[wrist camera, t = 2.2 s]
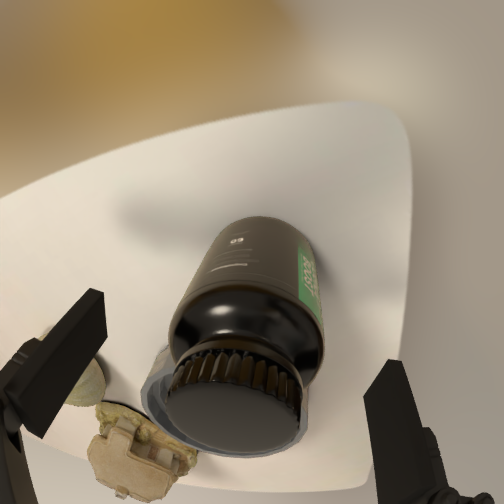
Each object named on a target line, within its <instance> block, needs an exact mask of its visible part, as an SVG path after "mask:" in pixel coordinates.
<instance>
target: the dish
mask: <svg viewBox="0 0 504 504" xmlns="http://www.w3.org/2000/svg"><path fill="white" fill-rule="evenodd" d="M175 368H176V366H175V364H174V362H173V360H172V357H171V354H170V350H169V348H167V349H166V350H164V351H163V352H161V353H160V354H159V355H158V357H157V359H156V360H155V362H154V364H153V366H152V368H151V370H150V372H149V375H148V377H147V379H146V381H145V383H144V385H143V387H142V389H141V401H142V406H143V408H144V410H145V412H146V413H147V415H148V416H149V418H150V420H151V421H152V422H153V423H154V424H155V425H156V426H157V427H159V428H160V429H161V430H162V431H163V432H164V433H165V434H167V435H168V436H170V437H172V438H173V439H175V440H177V441H178V442H180V443H182V444H184V445H186V446H189V447H191V448H194V449H196V450H199V451H202V452H205V453H209V454H214V455H218V456H223V457H234V458H255V457H265V456H269V455H273V454H276V453H279V452H282V451H285V450H287V449H288V448H290V447H292V446H293V445H295V444H296V443H298V442H299V441H300V440H301V438H302V437H303V435H304V434H305V432H306V431H307V429H308V388H306V389H305V390H304V391H303V400H302V403H301V420H300V428H299V430H298V431H297V433H296V436H295V437H294V438H292V439H291V441H290V442H288V443H285V444H284V445H283V446H281V447H277V448H276V449H274V450H268V451H265V452H257V453H237V452H228V451H223V450H218V449H216V448H212V447H208V446H206V445H204V444H201V443H198V442H197V441H195V440H193V439H191V438H189V437H187V436H186V435H185V434H183V433H182V432H180V431H179V429H178V428H176V427H175V426H174V425H173V423H172V421H170V420H169V419H168V414H167V413H166V412H165V409H166V407H165V405H164V403H165V399H166V395H167V392H168V389H169V387H170V384H171V382H172V379H173V373H174V370H175Z"/></svg>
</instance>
